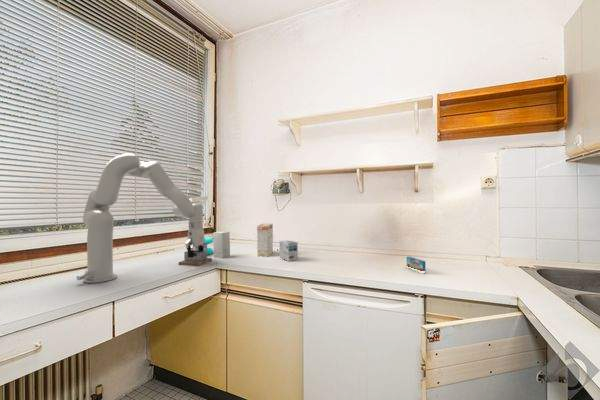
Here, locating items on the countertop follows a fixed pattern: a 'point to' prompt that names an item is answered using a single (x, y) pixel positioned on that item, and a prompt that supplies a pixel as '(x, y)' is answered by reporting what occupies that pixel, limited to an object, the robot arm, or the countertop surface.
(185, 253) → the gray open box
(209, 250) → the donuts
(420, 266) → the teal flat box
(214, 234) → the skincare box
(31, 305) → the countertop surface
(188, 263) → the keeper board
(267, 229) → the coffeecake box
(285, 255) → the light bulb box
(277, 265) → the countertop surface
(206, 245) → the medicine box
